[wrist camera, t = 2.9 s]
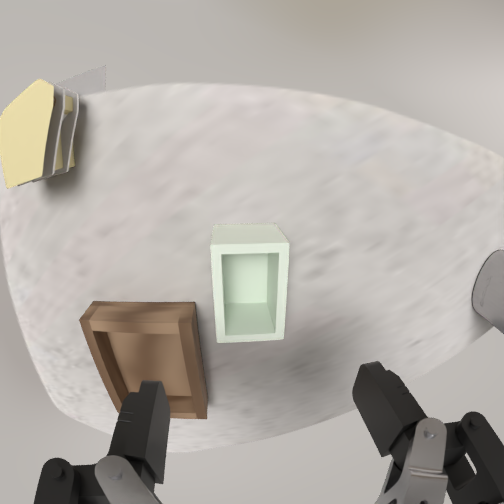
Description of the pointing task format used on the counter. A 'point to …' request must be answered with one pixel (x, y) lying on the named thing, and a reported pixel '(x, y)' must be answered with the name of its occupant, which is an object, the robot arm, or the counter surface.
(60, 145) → the stacked layers on plate
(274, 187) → the counter surface
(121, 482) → the robot arm
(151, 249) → the counter surface
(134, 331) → the big crate
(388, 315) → the counter surface
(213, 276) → the box
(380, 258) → the counter surface
